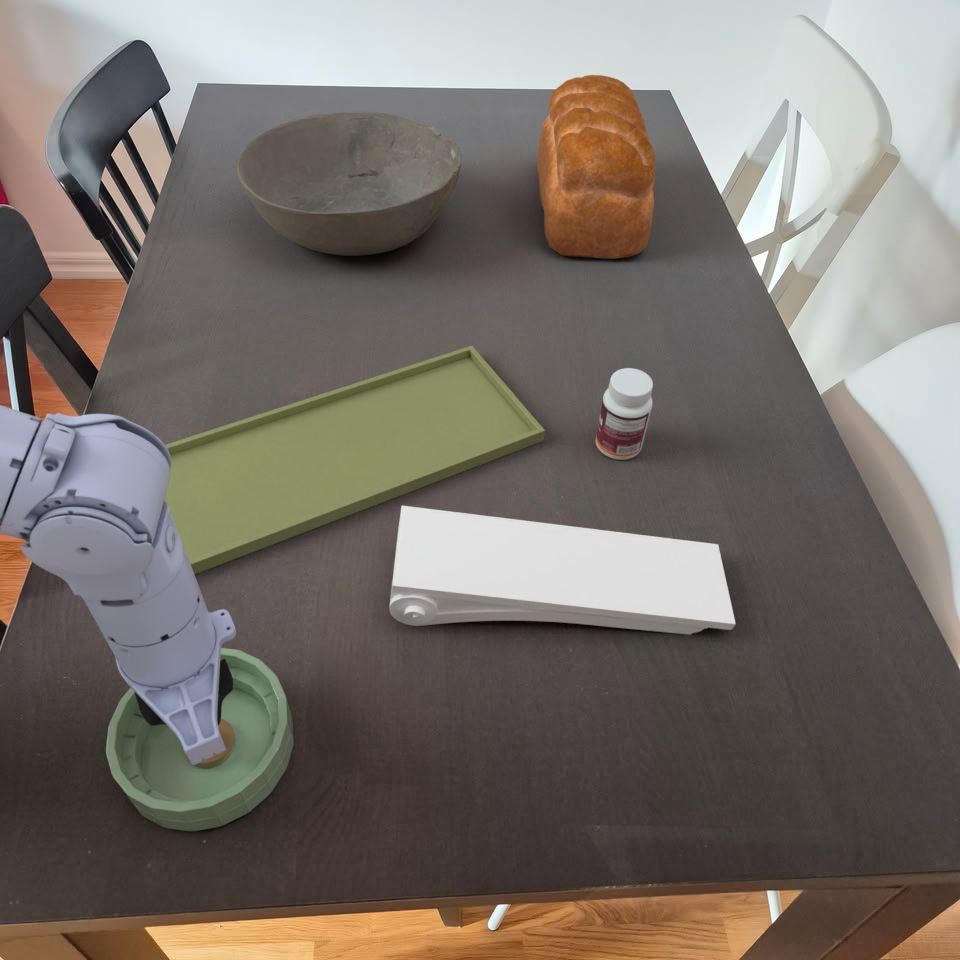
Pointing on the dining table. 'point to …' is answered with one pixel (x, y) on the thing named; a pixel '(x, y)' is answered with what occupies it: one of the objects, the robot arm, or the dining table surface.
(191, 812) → the shallow round dish
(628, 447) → the pill bottle
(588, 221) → the bread
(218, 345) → the dining table surface
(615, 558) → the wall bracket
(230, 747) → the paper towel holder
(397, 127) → the bowl
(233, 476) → the serving tray
